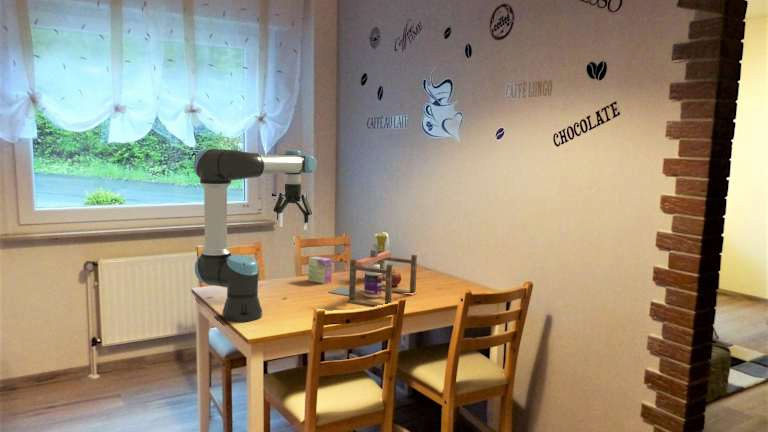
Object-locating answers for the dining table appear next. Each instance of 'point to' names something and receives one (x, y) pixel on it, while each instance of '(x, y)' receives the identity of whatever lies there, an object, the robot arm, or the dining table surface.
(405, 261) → the frame
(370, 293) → the pill bottle
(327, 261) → the box
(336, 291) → the coaster
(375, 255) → the bar
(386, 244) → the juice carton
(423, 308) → the dining table surface
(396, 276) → the apple
